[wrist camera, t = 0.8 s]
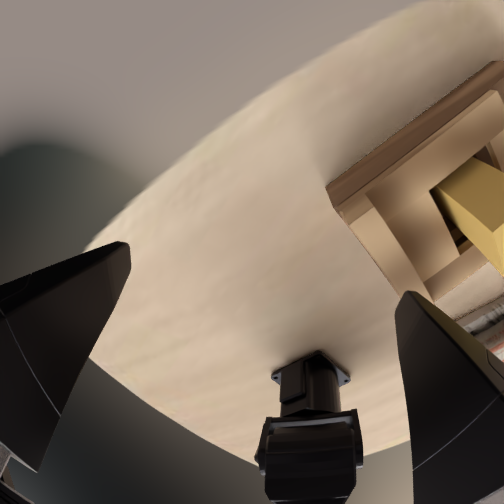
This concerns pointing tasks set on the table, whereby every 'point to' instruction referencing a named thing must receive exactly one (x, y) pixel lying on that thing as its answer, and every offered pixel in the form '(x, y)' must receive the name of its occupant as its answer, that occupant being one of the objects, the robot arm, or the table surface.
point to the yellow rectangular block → (476, 206)
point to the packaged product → (487, 326)
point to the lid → (425, 205)
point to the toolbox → (420, 141)
